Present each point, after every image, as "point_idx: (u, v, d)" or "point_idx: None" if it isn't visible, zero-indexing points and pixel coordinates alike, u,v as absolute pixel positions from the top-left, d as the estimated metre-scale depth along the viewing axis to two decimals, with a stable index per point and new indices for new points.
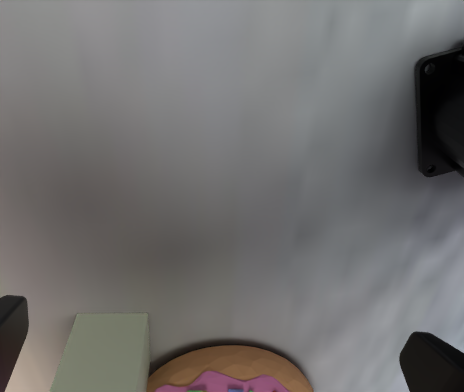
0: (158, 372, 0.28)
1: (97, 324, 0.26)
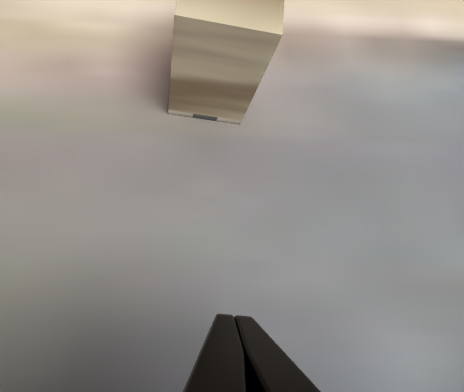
0: None
1: None
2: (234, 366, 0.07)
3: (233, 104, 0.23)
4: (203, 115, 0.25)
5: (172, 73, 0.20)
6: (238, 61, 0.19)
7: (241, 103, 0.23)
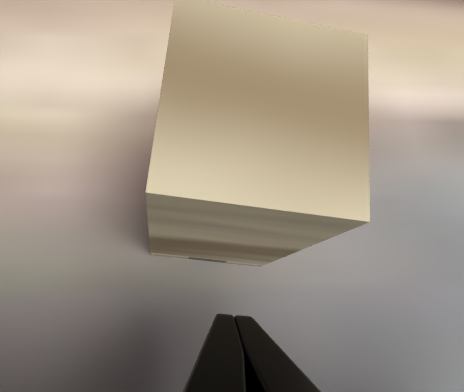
0: None
1: None
2: (234, 366, 0.07)
3: (252, 256, 0.14)
4: (204, 259, 0.16)
5: (151, 234, 0.12)
6: (271, 234, 0.10)
7: (267, 257, 0.14)
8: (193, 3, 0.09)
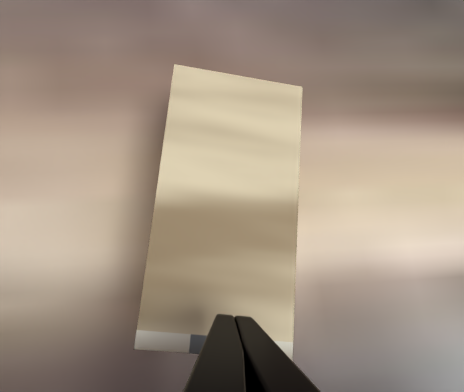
0: None
1: None
2: (234, 366, 0.07)
3: (267, 273, 0.12)
4: None
5: (159, 187, 0.12)
6: (259, 142, 0.13)
7: (282, 265, 0.12)
8: None
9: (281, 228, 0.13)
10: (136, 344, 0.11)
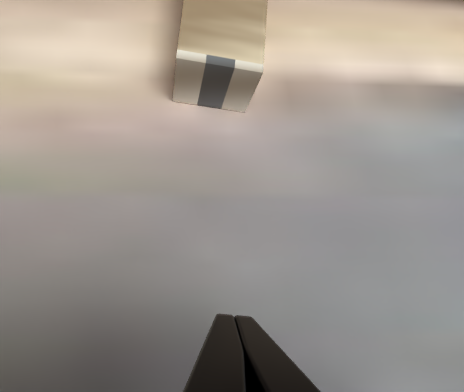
0: None
1: None
2: (234, 366, 0.07)
3: (249, 30, 0.22)
4: (218, 58, 0.21)
5: None
6: None
7: (257, 27, 0.22)
8: None
9: (257, 9, 0.22)
10: (177, 55, 0.20)
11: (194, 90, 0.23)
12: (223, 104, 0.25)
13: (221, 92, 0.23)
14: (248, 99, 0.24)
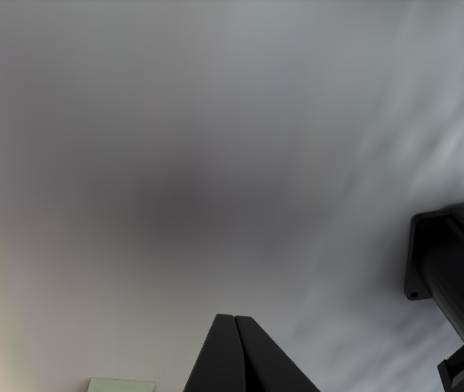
0: None
1: (109, 390, 0.29)
2: (234, 366, 0.07)
3: None
4: None
5: None
6: None
7: None
8: None
9: None
10: None
11: None
12: None
13: None
14: None
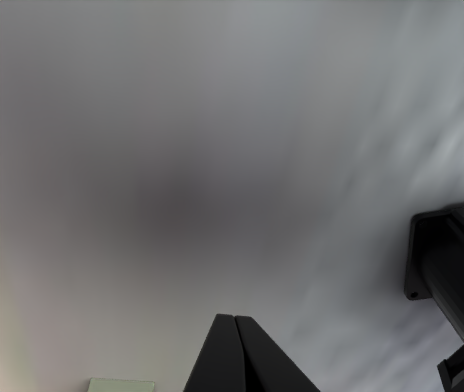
0: None
1: (109, 390, 0.29)
2: (234, 366, 0.07)
3: None
4: None
5: None
6: None
7: None
8: None
9: None
10: None
11: None
12: None
13: None
14: None
